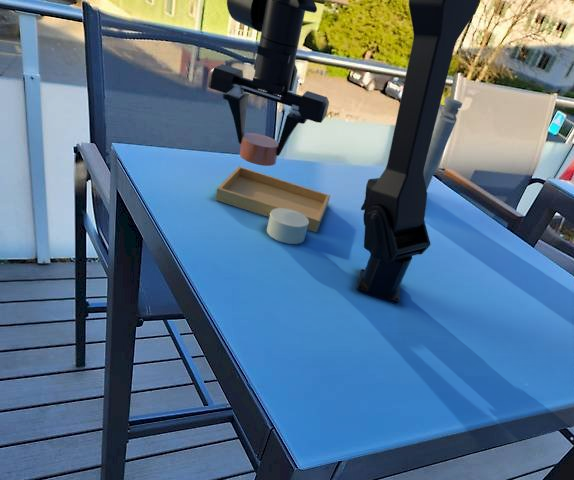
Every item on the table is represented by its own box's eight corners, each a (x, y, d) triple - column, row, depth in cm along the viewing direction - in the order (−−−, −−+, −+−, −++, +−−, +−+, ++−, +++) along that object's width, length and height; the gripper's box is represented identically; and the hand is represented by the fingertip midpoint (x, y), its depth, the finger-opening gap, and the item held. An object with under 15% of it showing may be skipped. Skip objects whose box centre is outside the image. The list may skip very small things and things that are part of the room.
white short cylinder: (300, 248, 78) (305, 230, 76) (262, 236, 78) (266, 218, 76) (307, 232, 83) (312, 216, 81) (271, 221, 83) (275, 204, 81)
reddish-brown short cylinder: (271, 169, 82) (274, 150, 80) (234, 157, 82) (237, 138, 80) (279, 158, 86) (283, 141, 84) (245, 148, 86) (248, 130, 85)
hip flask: (403, 184, 114) (440, 89, 101) (419, 189, 114) (459, 95, 101) (403, 208, 102) (445, 104, 89) (421, 214, 102) (466, 111, 89)
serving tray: (316, 232, 83) (319, 221, 82) (215, 200, 84) (217, 188, 82) (327, 205, 93) (330, 195, 92) (236, 177, 93) (238, 166, 92)
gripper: (344, 54, 79) (318, 153, 89) (235, 19, 79) (221, 122, 89) (336, 62, 70) (308, 171, 81) (213, 23, 71) (201, 137, 81)
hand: (259, 149), depth 83 cm, fingers closed on reddish-brown short cylinder, 6 cm apart
